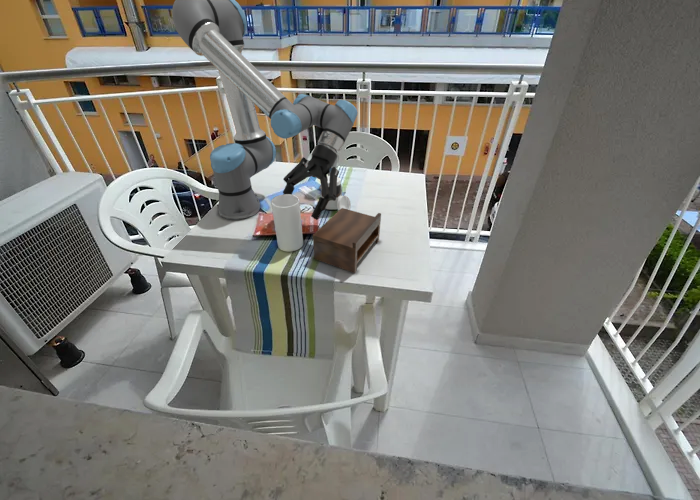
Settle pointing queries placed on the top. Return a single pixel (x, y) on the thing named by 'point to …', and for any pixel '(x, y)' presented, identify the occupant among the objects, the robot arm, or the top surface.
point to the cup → (287, 222)
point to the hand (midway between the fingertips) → (297, 211)
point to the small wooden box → (346, 238)
